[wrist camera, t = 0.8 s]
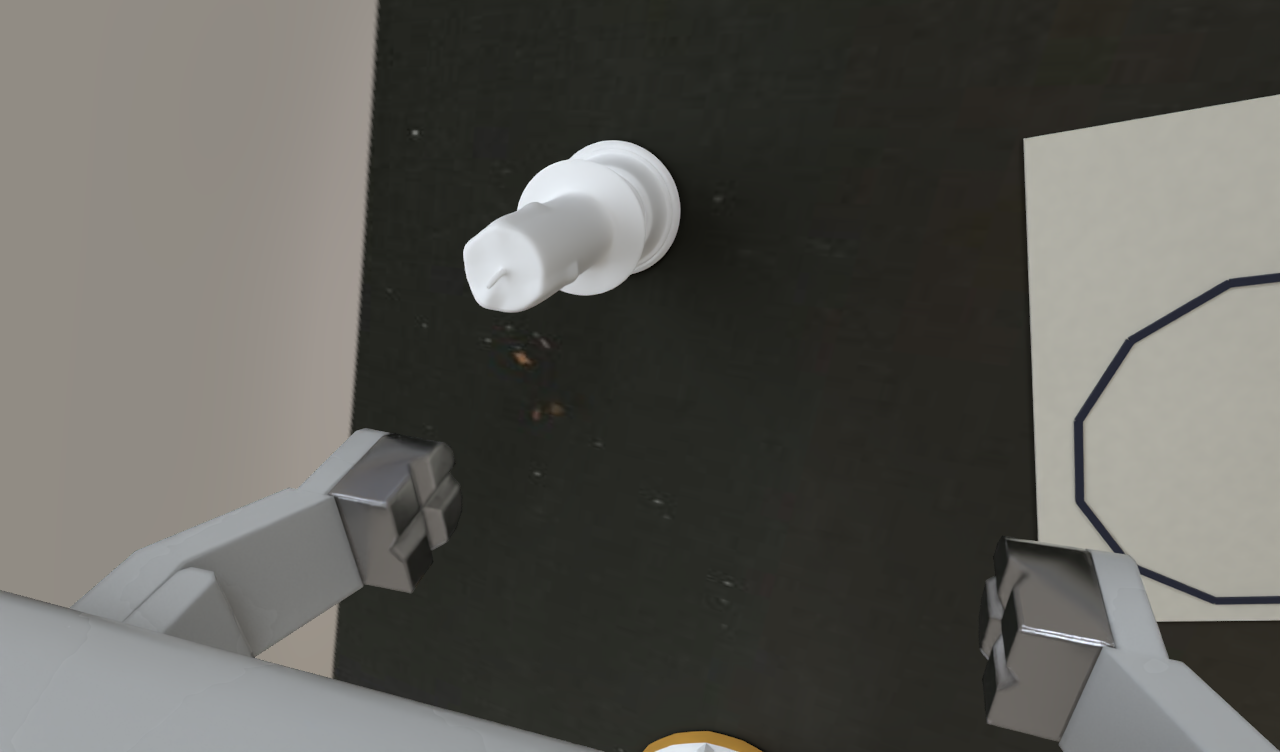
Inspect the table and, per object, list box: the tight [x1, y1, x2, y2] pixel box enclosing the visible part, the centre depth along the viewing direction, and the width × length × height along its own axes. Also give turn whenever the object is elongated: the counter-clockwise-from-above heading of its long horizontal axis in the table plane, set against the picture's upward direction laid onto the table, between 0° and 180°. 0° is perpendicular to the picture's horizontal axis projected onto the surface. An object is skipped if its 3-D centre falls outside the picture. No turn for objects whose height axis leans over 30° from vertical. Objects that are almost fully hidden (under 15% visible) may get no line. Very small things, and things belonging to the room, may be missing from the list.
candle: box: [463, 140, 680, 312], centre depth 25 cm, size 5×5×12 cm
